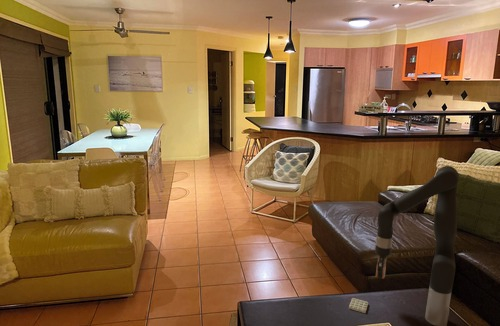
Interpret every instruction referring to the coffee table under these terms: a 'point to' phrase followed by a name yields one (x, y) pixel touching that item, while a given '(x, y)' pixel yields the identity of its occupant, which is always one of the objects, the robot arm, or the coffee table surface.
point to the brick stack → (383, 271)
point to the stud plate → (358, 305)
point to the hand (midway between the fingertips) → (380, 275)
